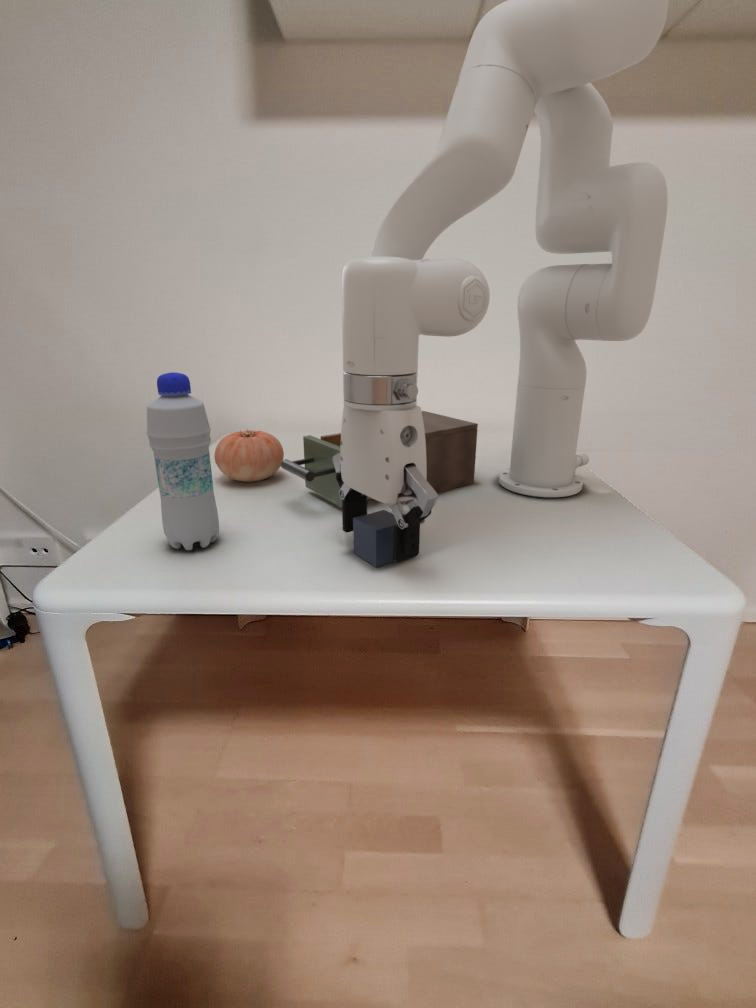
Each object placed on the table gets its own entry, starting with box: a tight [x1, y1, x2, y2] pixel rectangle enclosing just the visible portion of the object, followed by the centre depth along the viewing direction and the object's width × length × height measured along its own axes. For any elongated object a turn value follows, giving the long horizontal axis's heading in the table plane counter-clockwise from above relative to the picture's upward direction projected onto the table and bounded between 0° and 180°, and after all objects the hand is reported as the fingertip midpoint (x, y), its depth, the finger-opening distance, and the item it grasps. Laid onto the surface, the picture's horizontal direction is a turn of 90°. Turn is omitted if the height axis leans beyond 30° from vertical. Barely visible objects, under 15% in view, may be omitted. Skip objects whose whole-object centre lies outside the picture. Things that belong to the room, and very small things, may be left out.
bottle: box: [146, 371, 220, 551], centre depth 62 cm, size 7×7×20 cm
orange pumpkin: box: [213, 429, 285, 483], centre depth 87 cm, size 11×11×8 cm
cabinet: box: [398, 410, 479, 497], centre depth 85 cm, size 15×13×10 cm
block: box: [352, 509, 398, 568], centre depth 61 cm, size 4×4×4 cm
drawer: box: [280, 432, 373, 507], centre depth 78 cm, size 18×11×8 cm, turn 127°
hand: (379, 543), depth 61 cm, fingers open, 9 cm apart
